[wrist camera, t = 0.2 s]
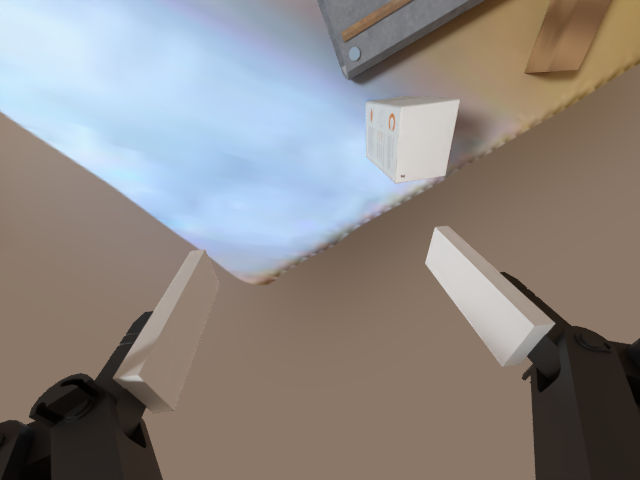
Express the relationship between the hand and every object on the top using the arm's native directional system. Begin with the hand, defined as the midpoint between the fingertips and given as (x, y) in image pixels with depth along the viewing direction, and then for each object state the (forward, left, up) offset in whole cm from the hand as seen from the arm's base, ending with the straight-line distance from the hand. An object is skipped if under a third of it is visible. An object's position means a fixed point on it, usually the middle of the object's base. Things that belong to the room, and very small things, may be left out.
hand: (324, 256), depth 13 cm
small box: (-2, +13, -28) cm, 31 cm away
